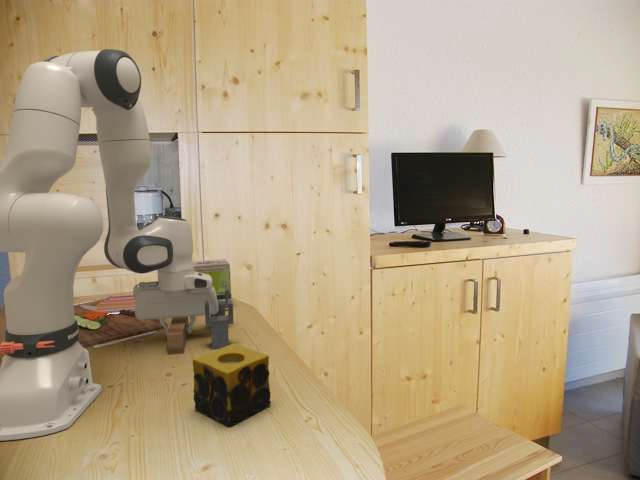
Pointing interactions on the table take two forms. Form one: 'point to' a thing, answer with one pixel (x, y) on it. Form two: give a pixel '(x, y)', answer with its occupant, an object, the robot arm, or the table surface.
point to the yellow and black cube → (231, 384)
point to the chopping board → (110, 325)
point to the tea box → (216, 275)
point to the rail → (177, 335)
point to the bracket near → (219, 326)
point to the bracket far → (223, 304)
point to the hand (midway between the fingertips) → (178, 333)
